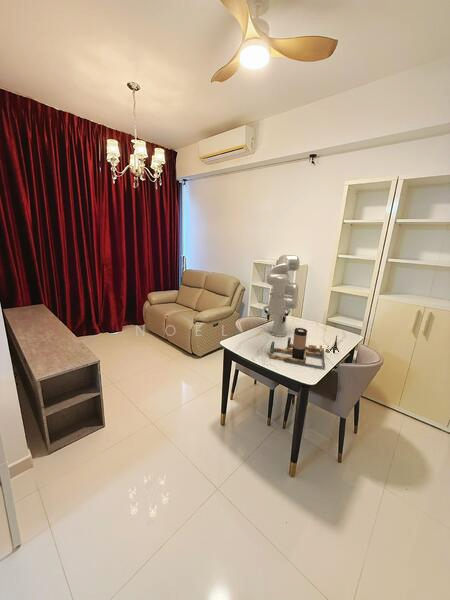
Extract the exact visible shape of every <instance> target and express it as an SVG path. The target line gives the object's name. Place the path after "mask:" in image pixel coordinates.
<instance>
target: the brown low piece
mask: <svg viewBox="0 0 450 600" xmlns="http://www.w3.org/2000/svg"><path fill="white" fill-rule="evenodd" d="M275 343H276V342H275V341H271V343H270V349H269V357H268V359H270V360H278V361H282V362H284V359H285V360H291V361H296V362H302V363H306V360H307V356H306V352H307V350H306V349H305V353H304V360H299V359H294V358H292V357H288V356H284V355H283V356H282V355H277V354H274V353H281V354H285V355H291V356H292V351H291V350H287V349H285V348H278V347H275Z"/></svg>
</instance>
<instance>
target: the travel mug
mask: <svg viewBox="0 0 450 600" xmlns="http://www.w3.org/2000/svg"><path fill="white" fill-rule="evenodd" d="M307 335H308V330H307V329H306V328H303V327H296V328H294V332H293V339H292V340H293V342H292V344H293V348H292V349H293V350H292V355H291V358H294V359H299V360H304V353H305V346H306V347H307Z"/></svg>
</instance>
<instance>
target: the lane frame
mask: <svg viewBox="0 0 450 600" xmlns="http://www.w3.org/2000/svg"><path fill="white" fill-rule="evenodd" d="M307 357H308V358H314V359H319V360H321V364H322V365H316V364H312V363H306V362H305V363H302V362H296V361H291V360H285V359H284V361H283V362H284V363H286V364H291V365H297V366H302V367H307V368H313V369H317V370H323V371H325V368H326V364H325V363H326V361H325V348H324V347H322V356H317V355H311V354H306V358H307Z"/></svg>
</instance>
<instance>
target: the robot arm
mask: <svg viewBox="0 0 450 600" xmlns="http://www.w3.org/2000/svg"><path fill="white" fill-rule="evenodd" d="M299 269H300V258H299V256H298V255H293V254H283V255H281V256H279V258H278V259H277V260H276V262H275V265H274V266H273V267H271V268H270V269H269V271H268V273H267V276H266V283H267V285H270V286H272V290H271V292H269V296H271V297H269V302H268V305H266V306H264V307H263V312H264V313H265V314H266V320H267V322H269V321H270V316H271V315H270V314H273V324H272V326H273V327H267V330H268V331H270V334H271V335H272V336H274V337H281V338H282V337H286V336H287V332H286V323H287V321H286V320H287V316H289V314H290V313H291V310H295V309H297V306H298V297H299V285H298V284H297V283H295V282H290V277H291V276H290V274H289V271H293V272H297V271H298V270H299ZM287 295H288V296H287ZM267 309H268V310H267Z"/></svg>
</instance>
